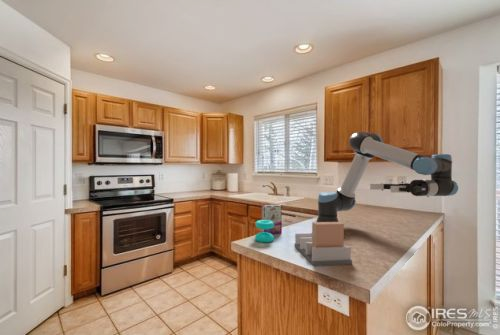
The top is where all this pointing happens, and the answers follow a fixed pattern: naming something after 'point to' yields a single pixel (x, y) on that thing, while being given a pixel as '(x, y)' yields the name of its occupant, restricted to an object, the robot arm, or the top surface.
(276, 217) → the candy bar box
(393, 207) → the top surface
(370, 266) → the top surface
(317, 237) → the terracotta tile
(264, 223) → the donuts
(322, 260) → the dish rack
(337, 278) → the top surface
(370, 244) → the top surface
